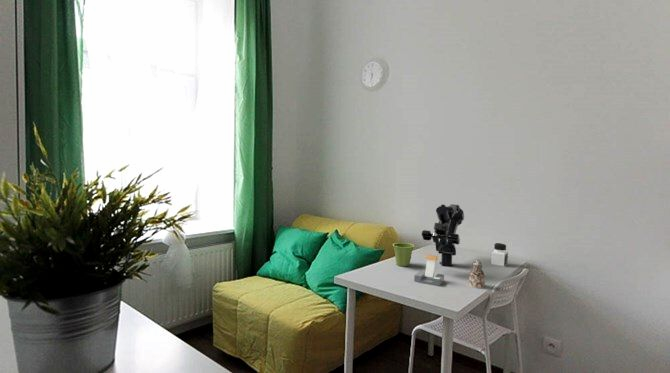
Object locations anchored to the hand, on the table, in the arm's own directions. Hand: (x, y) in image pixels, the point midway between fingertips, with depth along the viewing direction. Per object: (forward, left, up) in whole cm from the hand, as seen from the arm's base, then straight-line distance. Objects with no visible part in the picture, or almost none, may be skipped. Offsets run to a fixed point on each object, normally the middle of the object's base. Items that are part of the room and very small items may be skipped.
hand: (436, 250), depth 190 cm
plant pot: (-17, -14, -13) cm, 25 cm away
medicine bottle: (-22, +42, -13) cm, 49 cm away
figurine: (+15, +15, -13) cm, 25 cm away
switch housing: (+10, -6, -13) cm, 17 cm away
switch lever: (+10, -6, -10) cm, 15 cm away
